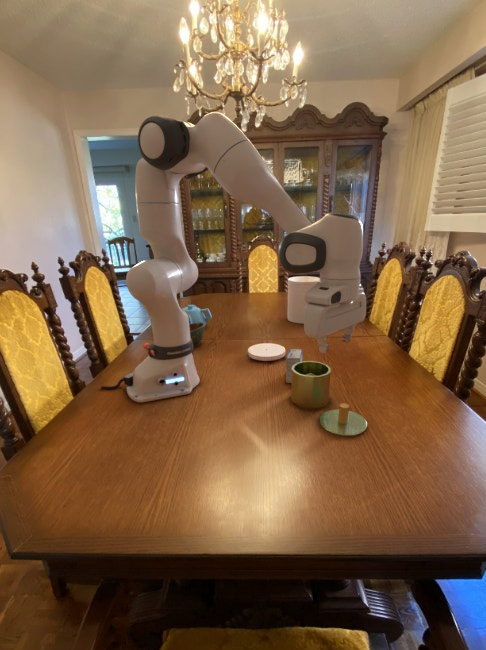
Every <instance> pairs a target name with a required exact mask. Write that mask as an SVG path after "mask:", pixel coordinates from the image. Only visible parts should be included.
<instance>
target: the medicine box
mask: <svg viewBox="0 0 486 650" xmlns="http://www.w3.org/2000/svg"><path fill="white" fill-rule="evenodd" d="M285 361H286V362H285V382H286V384H291V379H292V366H293V365H294V364H296V363H299V362H303V349H299V348H289V349H288V353H287V355H286V359H285Z"/></svg>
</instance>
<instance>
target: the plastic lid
mask: <svg viewBox="0 0 486 650" xmlns="http://www.w3.org/2000/svg"><path fill="white" fill-rule="evenodd" d="M247 355H248V357H249V358H251V359H252V360H256V361H264V362H268V361H269V362H270V361H276V360H280V359H282V358H283V357H285V355H286V348H285V347H284V346H283V345H281V344H278V343H273V342H272V343H271V342H264V343H263V342H262V343H257V344H253V345H251V346H249V347H248V349H247Z"/></svg>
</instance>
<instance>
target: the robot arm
mask: <svg viewBox="0 0 486 650" xmlns="http://www.w3.org/2000/svg"><path fill="white" fill-rule="evenodd" d="M137 146H138V150H139V153H140V155H141V157H142V158H140V159H139V160H138V162H137V163H136V166H135V180H134V181H135V183H134V185H135V187H134V188H135V202H136V203H135V204H136V211H137V220H138V228H139V234H140V236H141V237H142V239H143V240H145V241H146V242H147V243H148V245H149V246H150V249H151V251H152V254H153V258H152V259H147V260H143V261H140V262H139V263H137V264H135V265H134V266H132V267H131V268H129V269H128V271H127V273H126V277H125V283H126V287H127V290H128V292H129V294H130V295H131V296H132V297H133V298H134V299H135V300H136V301H138V302H139V303H141V305H142V306H143V307H144V309H145V311H146V313H147V315H148V317H149V321H150V326H151V334H152V333H153V336H152V338H153V339H152V340H153V342H152V343H151V344H150V343H149V342H145V343H144V344H143V349H144V350H145V351H146V352H147V353H148V356H147V357H145V359H144V360H143V361H141V363H139V364H138V365H137V366H136V367H135V368H134V370H133V372H130V373H128V374H125V375H124V376H123V377H122V378H121V379H119V381H118V382H117V383H116V385H112V386H109V385H107V386H106V385H102V386H100V389H101V390H115V389H117V388H119V387H121V385H122V383H123V382H124V385H125V386H126V394H127V396H128V397H129V398H130V399H131V400H132V401H134V402H136V403H147V402H152V401H153V402H154V401H158V400H164V399H169V398H173V397H180V396H185V395H189V394H191V393H192V391H193V389H194V388H196V387H197V386H198V385H199V384H200V382H201V378H200V376H199V373H198V371H197V368H196V364H195V360H194V352H195V351H194V348H193V343H192V339H191V337H190V327H189V317H188V315H187V313H186V312H185V311H183V310H182V308H181V306H180V303H179V301H178V297H177V295H178V294H180V293H184V292H185V291H187V290H189V289H190V288H191V287H192V286H194V285H195V283H196V282H197V280H198V278H199V269H198V265H197V263H196V262H195V261H194V260H193V259H192V258H191V255H190V254H189V252H188V249H187V246H186V243H185V239H184V234H183V229H182V218H181V207H180V206H181V205H180V195H179V194H180V193H179V185H180V182H181V181H182V179H183V178H184V179H186V180H191V179H193V178H194V177H197V176H200V175H202V174H204V173H206V172H208V171H209V172H210V173H211V175H212V176H213V178H214V179H215V180H216V181H217V183H218V184H219V186H220V187H221V188H222V189H223V190H224V191H225V192H226V193H227V194H229V195H230V196H231V197H232V198H233V199H234V200H235V201H239V202H241V203H244V204H248V205H250V206H253V207H256V208H258V209H260V210H262V211H264V212H266V213H267V214H268V215H270V216H271V218H272V219H273V220H274V221H275V222H276V223H277V224H278V225H279V226H280V228H281V229H282V230H283V231H284V232H285V233H286V236H284V237H283V238H282V240H281V241H280V243H279V246H278V253H277V255H278V261H279V262H280V265H281V267H283V269H284V270H286V271H287V272H288V273H290V274H293V275H305V274H309V273H313V272H318V273H319V278H320V282H317V283H316V285H314V286H313V287H312V288H311V289H310V290H308V291H307V292H306V293H305V301H306V302H309V303H308V304H307V305H306V307H305V312H304V324H303V333H304V334H305V336H306V337H308V338H311V339H315V341H316V342H317V345H318V352H319V353H320V354H326V353H328V352H329V351H330V344H327V340H328V336H330V335H332V334H335V333H338V332H339V331H342V330H344V333H343V334H342V335H341V341H342V342H343V343H346V344H348V343H350V342H352V336H353V333H354V331H355V329H356V325H358V324H360V323H362V322H364V320H365V319H366V316H367V297H366V294H365V288H364V287H363V286H362V284H361V270H360V267H361V266H360V265H361V261H362V258H363V253H364V252H363V251H364V227H363V223H362V220H361V219H360V218H359V217H358V216H356V215H354V214H350V213H344V212H336V211H335V212H334V211H331V212H328V213H325V215H324V216H322V217H321V218H320V219H318V220H317V221H315V222H313V221H312V220H311V219H310V218H309V217H308V215H306V213H304V210H303V209H301V208H300V206H299V205H298V204H297V203H296V202H295V200H294V199H293V198H292V197H291V196H290V194H289V193H288V192H287V191H286V190H285V188H284V187H283V186H282V185H281V183H280V182H279V180H278V178H277V177H276V176H275V174H274V173H273V172H272V170H271V168H270V167H269V166H268V164H267V163H266V161H265V159H264V158H263V157H262V155H261V154H260V152H259V151H258V149H257V148H256V147H255V145H254V144H253V143H252V141H251V140H250V139H249V137H247V135H245V133H244V132H243V131H242V130H241V129H240V128H239V126H237V124H235V122H233V121H232V120H231V119H230V118H229V117H227V115H225V114H224V113H221V112H218V111H211V112H208V113H207V114H205V115H203V116H202V118H200V119H199V120H198V122H197V123H196V124H194V123H191V122H189V121H187V120H182V119H176V118H173V117H170V116H167V115H151V116H149V117H147V118H146V119H144V120H143V121H142V123H141V124H140V127H139V128H138V134H137Z"/></svg>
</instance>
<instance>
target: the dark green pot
mask: <svg viewBox="0 0 486 650" xmlns="http://www.w3.org/2000/svg"><path fill="white" fill-rule="evenodd" d="M189 327H190V337H191V339H192V343H193V349H194V348H195V347H198V346H200V344H201V342H202V340H203V337H204V336H205V335H204V334H205V326H204V323H194V324H189ZM151 336H152V337H153V333H152V332H151Z"/></svg>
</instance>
